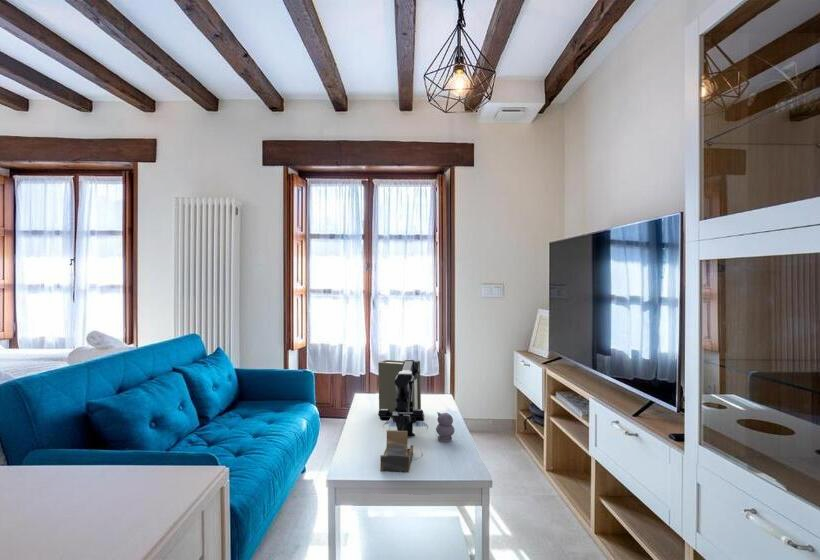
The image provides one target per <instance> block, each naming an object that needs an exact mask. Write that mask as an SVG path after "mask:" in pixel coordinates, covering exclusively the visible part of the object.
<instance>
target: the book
mask: <svg viewBox="0 0 820 560" xmlns="http://www.w3.org/2000/svg"><path fill="white" fill-rule="evenodd" d="M415 362H416V363H418V364H419V374H418V377H417V379H416V380H415V382H414V385H413V394H412V402H413V405H414V409H422V403H421V402H422V396H421V395H422V393H421V392H422V390H421V360H415ZM403 363H404V360H397V359H396V360H394V359H393V360H392V359H383V360H380V361H378V365H377V366H378V369H377V370H378V371H377V372H378V411H379V410H380V409H388V410H389V412H395V408H396V399H397V391H396V386H395V379H396V376H397V375H398V373H399V372H400V371H402V364H403Z"/></svg>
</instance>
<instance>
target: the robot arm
mask: <svg viewBox="0 0 820 560" xmlns="http://www.w3.org/2000/svg"><path fill="white" fill-rule="evenodd" d="M403 361H404V363H403V364H402V371H400V372H399V373H398V375H397V376H396V379H395V386H396V391H397V399H396V408H395V412H389V410H388V409H380V410H379V409H378V414H377V415H378V417H379V419H380V421H383V422H388V421H390V420H392V421H393V423H395V424H396V430H397V431H408V435H407V439H408V438H411V437H415V436H416V433H414V431H413V430H414V428H413V427H414V426H413V424H414V425H415V424H416V423H417V422H425V412H424V410H423V409H422V408H421V409H414V405H413V402H412V394H413V385H414V382H415V380H416V379H417V377H418V374H419V364H418V363H416V362H415V361H416V360H414V359H408V358H407V359H406V358H405V359H404V360H403Z"/></svg>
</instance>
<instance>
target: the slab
mask: <svg viewBox="0 0 820 560" xmlns="http://www.w3.org/2000/svg"><path fill="white" fill-rule="evenodd" d="M407 435H408V431H398V430H397V429H396V430H395V429H394V430H393V429H392V430H391V429H387V430H386V447H387V452H386V454H385V456H404V457H407V449H408V438H407Z"/></svg>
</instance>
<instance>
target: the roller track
mask: <svg viewBox="0 0 820 560" xmlns="http://www.w3.org/2000/svg"><path fill="white" fill-rule="evenodd" d="M386 452H387V446H386V448H385V449H384V452H383V454H382V455H380V466H379V467H380V472H387V471H388V472H391V473H407V474H408V473H409V472H410V468H411V464H412V460H413V455H414V445H412V444H411V445H410V446H409V448H407V457H404V456H385V454H386Z"/></svg>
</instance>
